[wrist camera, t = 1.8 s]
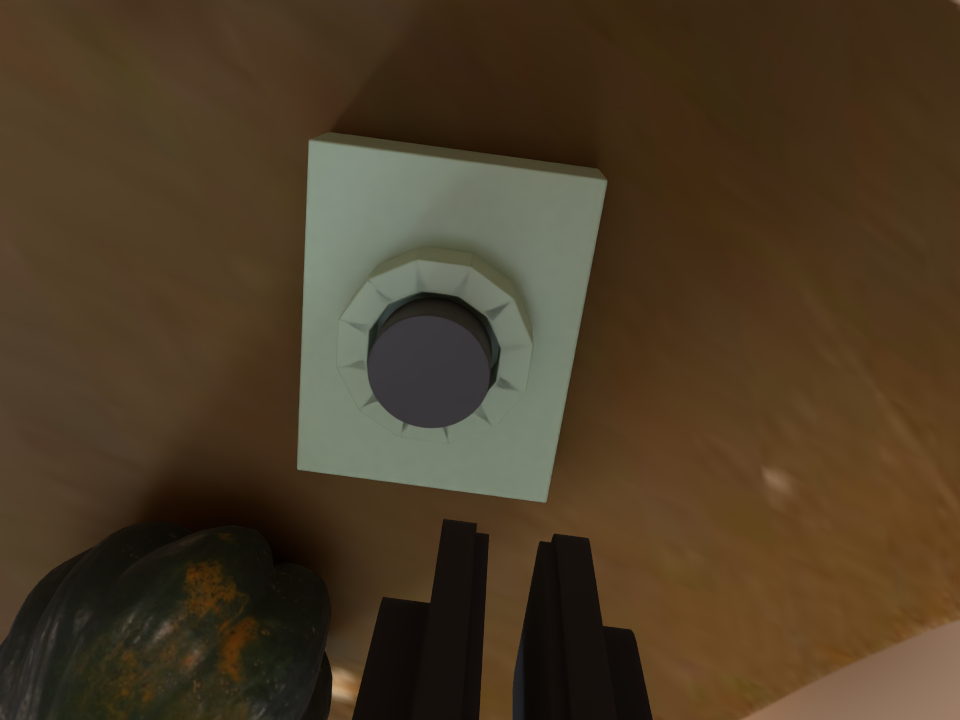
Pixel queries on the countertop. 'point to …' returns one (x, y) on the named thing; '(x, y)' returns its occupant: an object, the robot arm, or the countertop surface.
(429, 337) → the button
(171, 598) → the squash
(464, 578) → the robot arm
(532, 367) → the knob plate
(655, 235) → the countertop surface
